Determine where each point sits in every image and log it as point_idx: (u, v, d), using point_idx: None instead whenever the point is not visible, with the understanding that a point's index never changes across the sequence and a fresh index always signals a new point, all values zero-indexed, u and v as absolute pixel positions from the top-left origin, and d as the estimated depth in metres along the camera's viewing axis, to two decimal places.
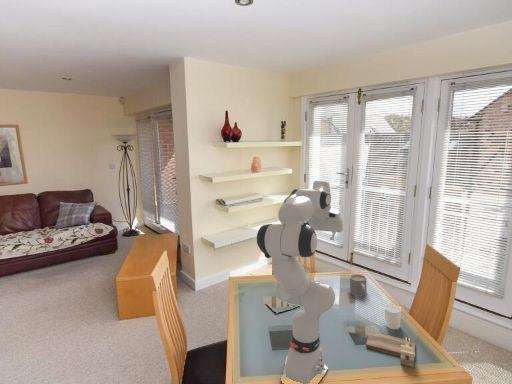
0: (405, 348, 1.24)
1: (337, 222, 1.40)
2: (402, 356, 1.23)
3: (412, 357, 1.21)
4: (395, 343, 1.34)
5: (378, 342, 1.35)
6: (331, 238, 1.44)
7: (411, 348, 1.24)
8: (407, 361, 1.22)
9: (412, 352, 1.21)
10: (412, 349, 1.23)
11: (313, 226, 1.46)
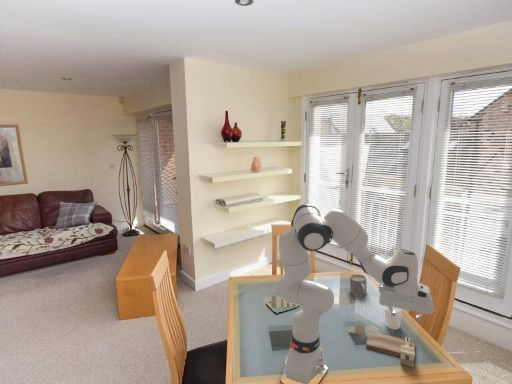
0: (405, 348, 1.24)
1: (428, 302, 1.15)
2: (402, 356, 1.23)
3: (412, 357, 1.21)
4: (395, 343, 1.34)
5: (378, 342, 1.35)
6: (418, 319, 1.19)
7: (411, 348, 1.24)
8: (407, 361, 1.22)
9: (412, 352, 1.21)
10: (412, 349, 1.23)
11: (394, 303, 1.21)
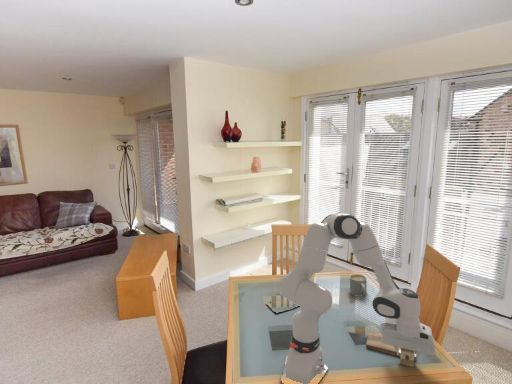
0: None
1: (430, 344, 1.17)
2: (402, 356, 1.23)
3: (412, 357, 1.21)
4: None
5: (378, 342, 1.35)
6: (415, 358, 1.21)
7: None
8: (407, 361, 1.22)
9: (412, 352, 1.21)
10: None
11: (396, 342, 1.23)
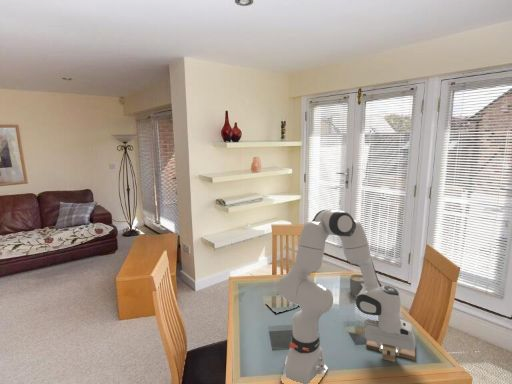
0: None
1: (410, 340, 1.20)
2: (384, 351, 1.26)
3: (393, 352, 1.24)
4: None
5: None
6: (397, 354, 1.25)
7: None
8: (389, 356, 1.25)
9: (393, 347, 1.25)
10: None
11: (378, 338, 1.26)
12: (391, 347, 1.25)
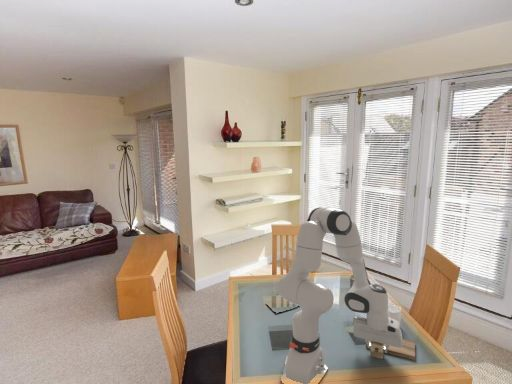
0: None
1: (397, 337, 1.22)
2: (372, 348, 1.28)
3: (381, 349, 1.26)
4: None
5: None
6: (384, 350, 1.27)
7: None
8: (377, 353, 1.28)
9: (381, 344, 1.27)
10: None
11: (367, 336, 1.29)
12: (379, 344, 1.27)
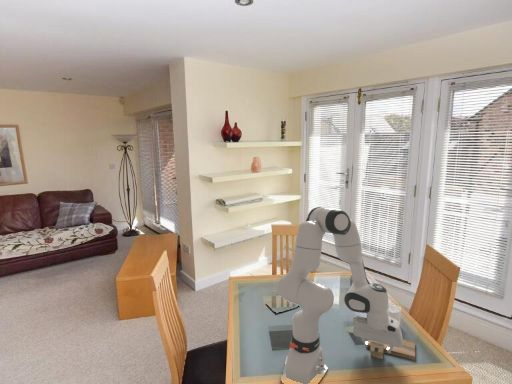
0: (375, 341, 1.29)
1: (397, 336, 1.22)
2: (372, 348, 1.28)
3: (381, 349, 1.26)
4: None
5: None
6: (388, 351, 1.26)
7: None
8: (376, 353, 1.28)
9: (381, 344, 1.27)
10: None
11: (367, 335, 1.28)
12: (379, 344, 1.27)
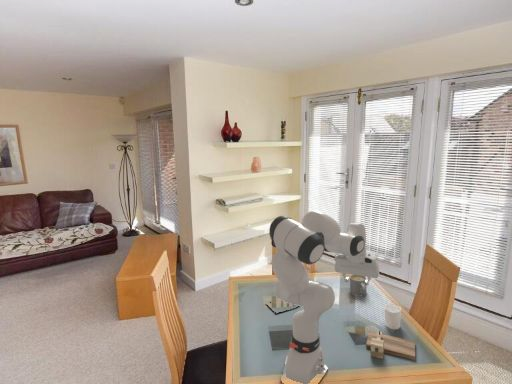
0: (375, 341, 1.29)
1: (373, 268, 1.33)
2: (372, 348, 1.28)
3: (381, 349, 1.26)
4: (395, 343, 1.34)
5: None
6: (366, 283, 1.37)
7: (381, 341, 1.29)
8: (377, 353, 1.28)
9: (381, 344, 1.27)
10: (382, 342, 1.29)
11: (347, 270, 1.39)
12: (379, 344, 1.27)
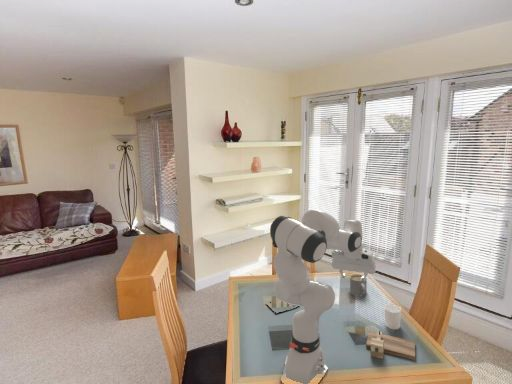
0: (375, 341, 1.29)
1: (370, 264, 1.35)
2: (372, 348, 1.28)
3: (381, 349, 1.26)
4: (395, 343, 1.34)
5: None
6: (363, 279, 1.39)
7: (381, 341, 1.29)
8: (377, 353, 1.28)
9: (381, 344, 1.27)
10: (382, 342, 1.29)
11: (344, 266, 1.41)
12: (379, 344, 1.27)
